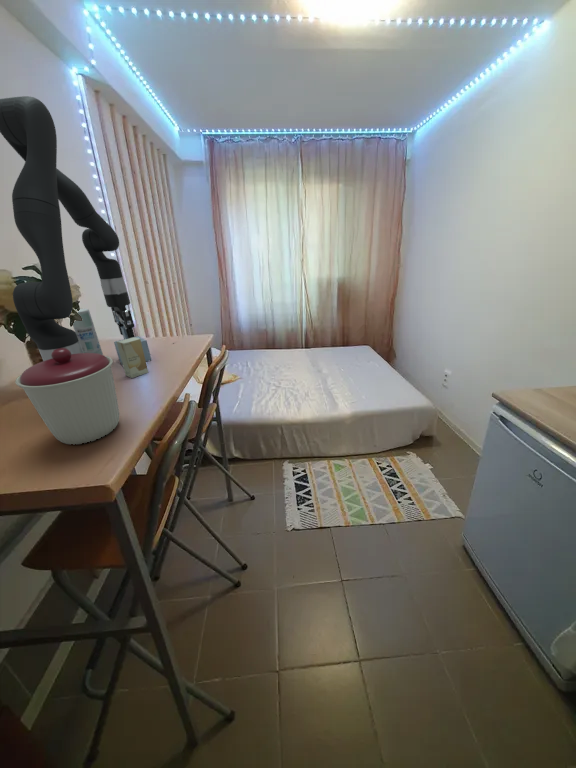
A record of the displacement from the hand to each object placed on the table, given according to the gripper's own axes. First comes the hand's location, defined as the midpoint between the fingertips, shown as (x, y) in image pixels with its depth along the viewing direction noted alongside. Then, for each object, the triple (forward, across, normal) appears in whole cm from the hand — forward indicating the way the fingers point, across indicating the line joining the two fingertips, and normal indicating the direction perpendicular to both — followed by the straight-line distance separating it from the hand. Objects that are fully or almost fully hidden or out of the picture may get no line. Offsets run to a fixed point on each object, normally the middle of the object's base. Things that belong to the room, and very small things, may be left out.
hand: (127, 336), depth 117 cm
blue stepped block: (+10, 0, 0) cm, 10 cm away
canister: (+10, +44, -25) cm, 52 cm away
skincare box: (+10, +15, -4) cm, 18 cm away
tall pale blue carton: (+10, -11, -11) cm, 18 cm away
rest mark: (+10, 0, 0) cm, 10 cm away
